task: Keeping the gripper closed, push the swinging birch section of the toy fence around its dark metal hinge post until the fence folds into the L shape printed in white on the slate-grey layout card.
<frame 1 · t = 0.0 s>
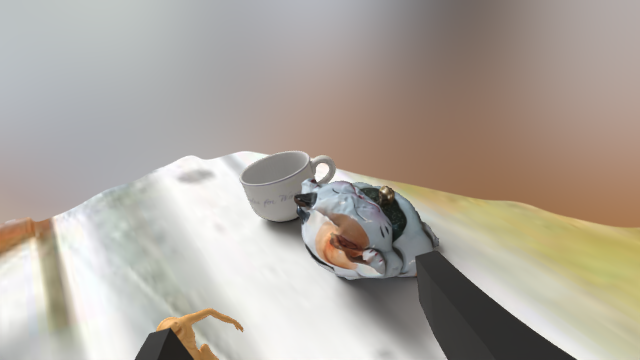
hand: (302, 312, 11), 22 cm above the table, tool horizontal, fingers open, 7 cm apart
lucky cat figurine: (375, 262, 43), on the table
teacup: (298, 209, 57), on the table
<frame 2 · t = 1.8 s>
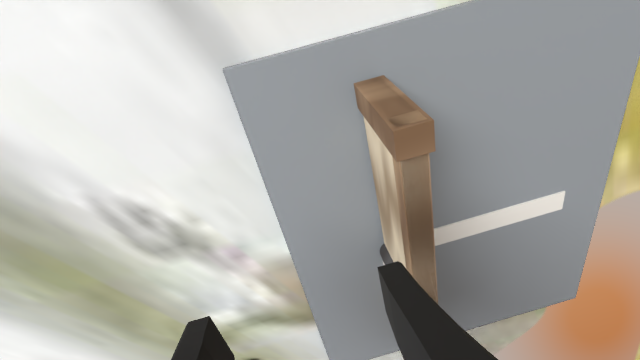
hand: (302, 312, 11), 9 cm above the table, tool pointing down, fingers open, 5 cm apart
layout card: (450, 215, 23), on the table
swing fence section: (399, 199, 17), point 3 cm above the table, hinge at 0.0°
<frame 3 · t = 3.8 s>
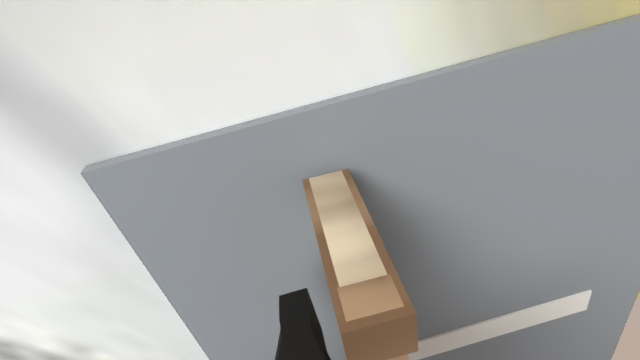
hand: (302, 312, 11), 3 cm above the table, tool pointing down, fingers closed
layout card: (439, 321, 17), on the table
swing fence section: (367, 350, 11), point 3 cm above the table, hinge at -2.2°, touching gripper
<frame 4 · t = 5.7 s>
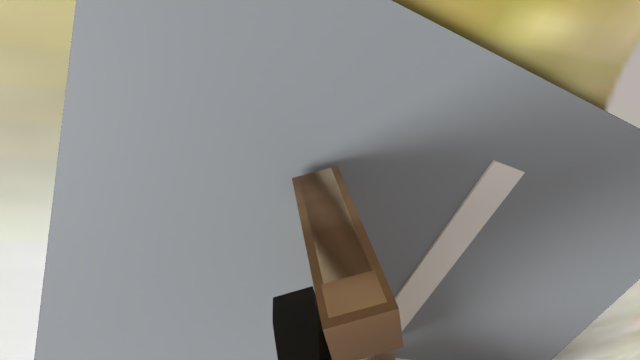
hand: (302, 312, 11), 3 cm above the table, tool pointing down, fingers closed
layout card: (380, 295, 16), on the table
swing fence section: (360, 347, 11), point 3 cm above the table, hinge at -54.8°, touching gripper
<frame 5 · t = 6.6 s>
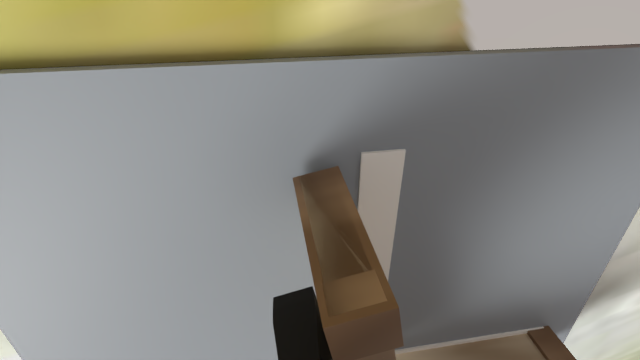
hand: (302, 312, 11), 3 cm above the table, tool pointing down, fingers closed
layout card: (341, 302, 15), on the table
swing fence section: (360, 347, 11), point 3 cm above the table, hinge at -78.7°, touching gripper
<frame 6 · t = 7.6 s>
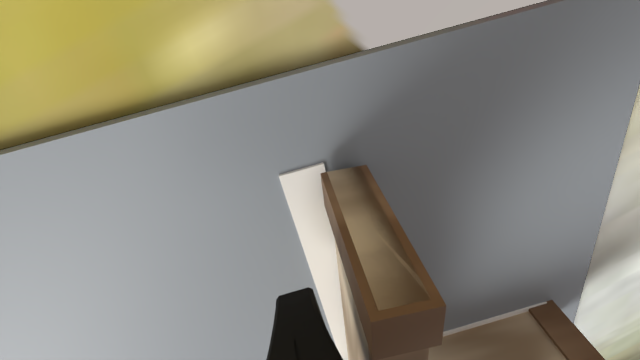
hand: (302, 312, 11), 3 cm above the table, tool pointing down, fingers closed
layout card: (318, 312, 15), on the table
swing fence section: (373, 347, 11), point 3 cm above the table, hinge at -96.3°, touching gripper
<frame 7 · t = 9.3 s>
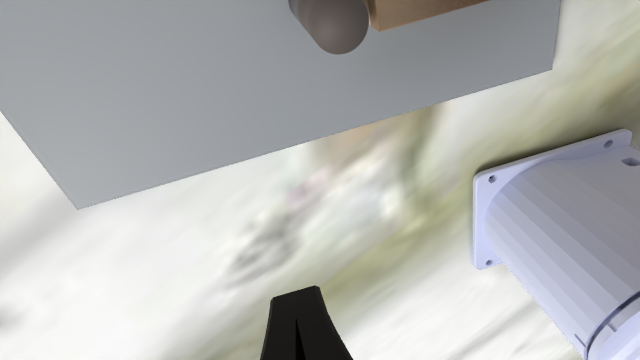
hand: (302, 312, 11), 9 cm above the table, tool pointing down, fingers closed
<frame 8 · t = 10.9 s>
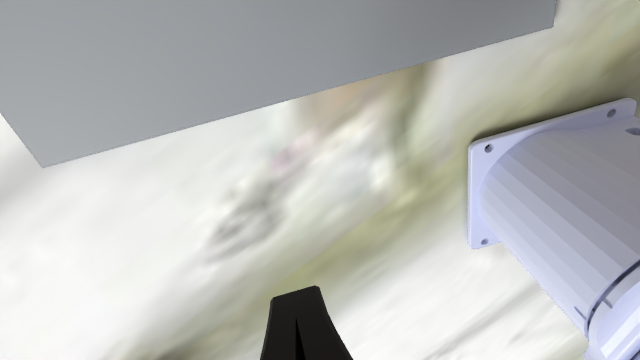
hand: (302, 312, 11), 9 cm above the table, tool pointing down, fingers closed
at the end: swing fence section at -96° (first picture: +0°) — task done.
